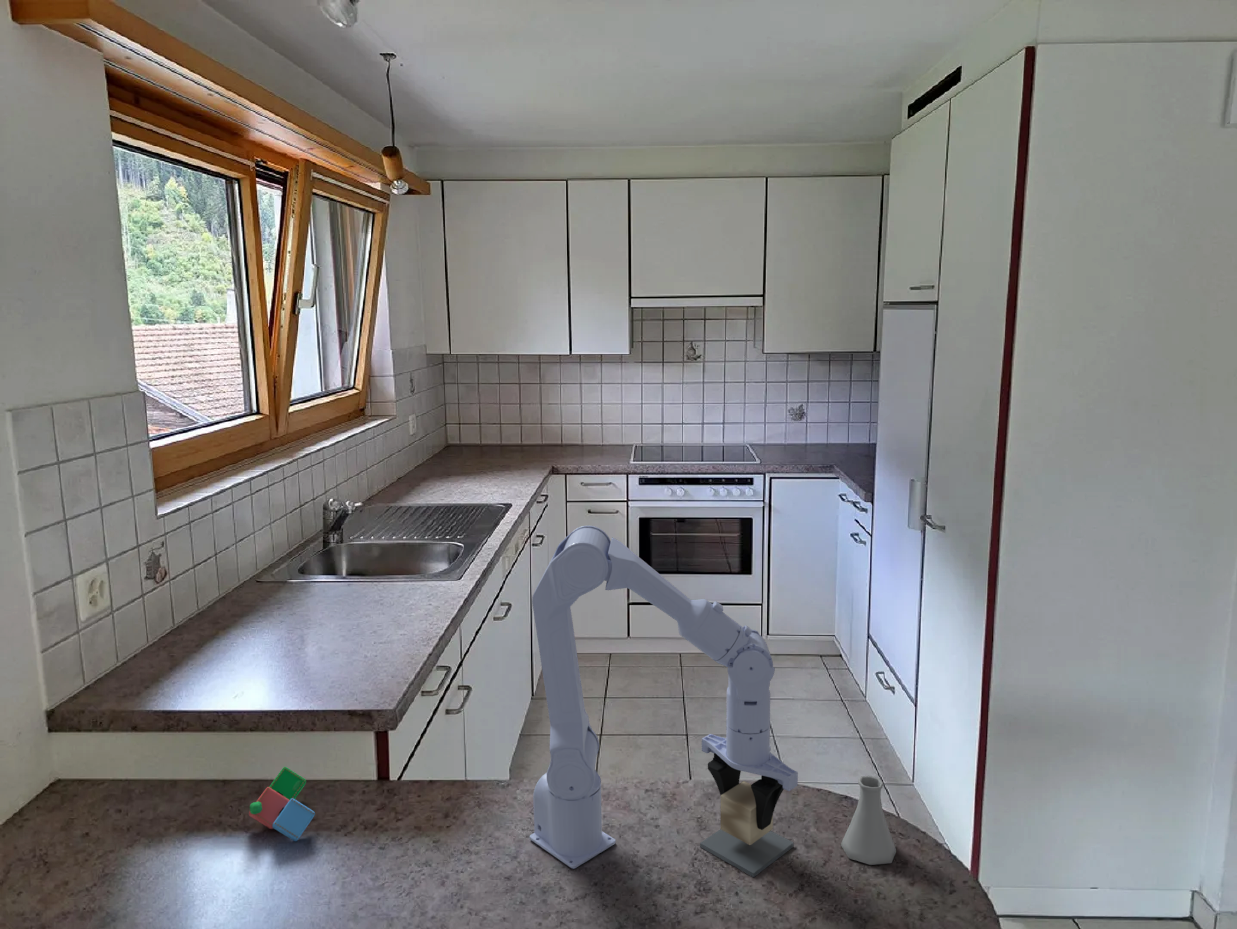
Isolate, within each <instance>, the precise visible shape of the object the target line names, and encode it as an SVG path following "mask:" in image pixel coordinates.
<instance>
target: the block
mask: <svg viewBox="0 0 1237 929" xmlns="http://www.w3.org/2000/svg"><path fill="white" fill-rule="evenodd" d="M751 784H752V783H749V782H748V781H745V780H743V781H741V782H739V784H738V785H736V786H735V787H733V788H732V789H730V790H729V791H727V792H725V793H724V794H722V795H720V829H721V830H723V831H725V832H726V833H728V834H730V835H732V836H734V837H736V838H738V839H739V840H741V841H743V842H745V843H747V844H749V845H751V844H753V843H754V842H756V841H757V840H758V839H760V838H761V837H762V836H764V835H765V834H767V833H768V832H769V831H772V830H774V815H773V816H772V820H771V824H770V825H769V826H767V827H766V828H764V829H763V830H760V829H759V828H758V827H757V821H756V802H755V797H754V794H753V791H752V789H751ZM720 829H719V830H720Z"/></svg>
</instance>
